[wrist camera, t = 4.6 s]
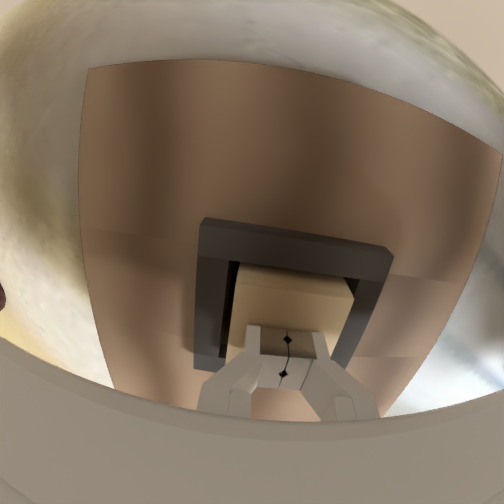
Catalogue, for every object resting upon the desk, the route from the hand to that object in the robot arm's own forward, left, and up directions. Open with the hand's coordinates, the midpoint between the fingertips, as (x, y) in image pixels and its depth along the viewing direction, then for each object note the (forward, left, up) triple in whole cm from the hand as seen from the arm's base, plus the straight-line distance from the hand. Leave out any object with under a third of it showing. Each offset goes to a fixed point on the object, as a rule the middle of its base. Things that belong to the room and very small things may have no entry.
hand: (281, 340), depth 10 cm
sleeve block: (0, 0, -10) cm, 10 cm away
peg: (0, 0, -9) cm, 9 cm away
